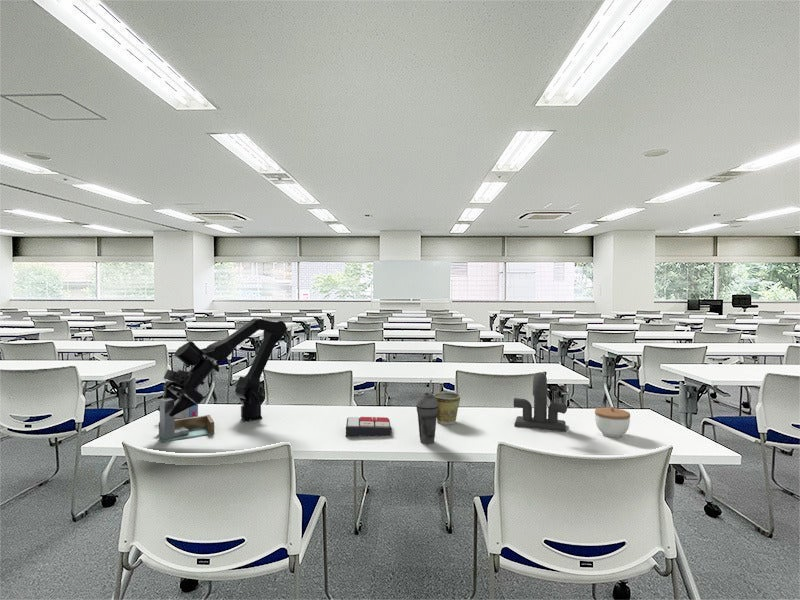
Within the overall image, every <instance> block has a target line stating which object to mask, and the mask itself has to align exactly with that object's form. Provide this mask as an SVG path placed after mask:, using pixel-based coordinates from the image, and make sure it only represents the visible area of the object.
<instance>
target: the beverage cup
mask: <svg viewBox="0 0 800 600" xmlns="http://www.w3.org/2000/svg"><path fill="white" fill-rule="evenodd" d="M432 380H433V379H430V380H429V387H428V392H425V393H421V394H420V396H419V397H418V398H417V400H416V404H415V407H416V413H417V421H418V432H419V435H418V436H419V442H420V443H421V444H423V445H432V444H434V443H435V438H436V429H437V412H438V407H439V406H438V401H437V399H436V397H435V396H434V395H433V393H431V389H432Z"/></svg>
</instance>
